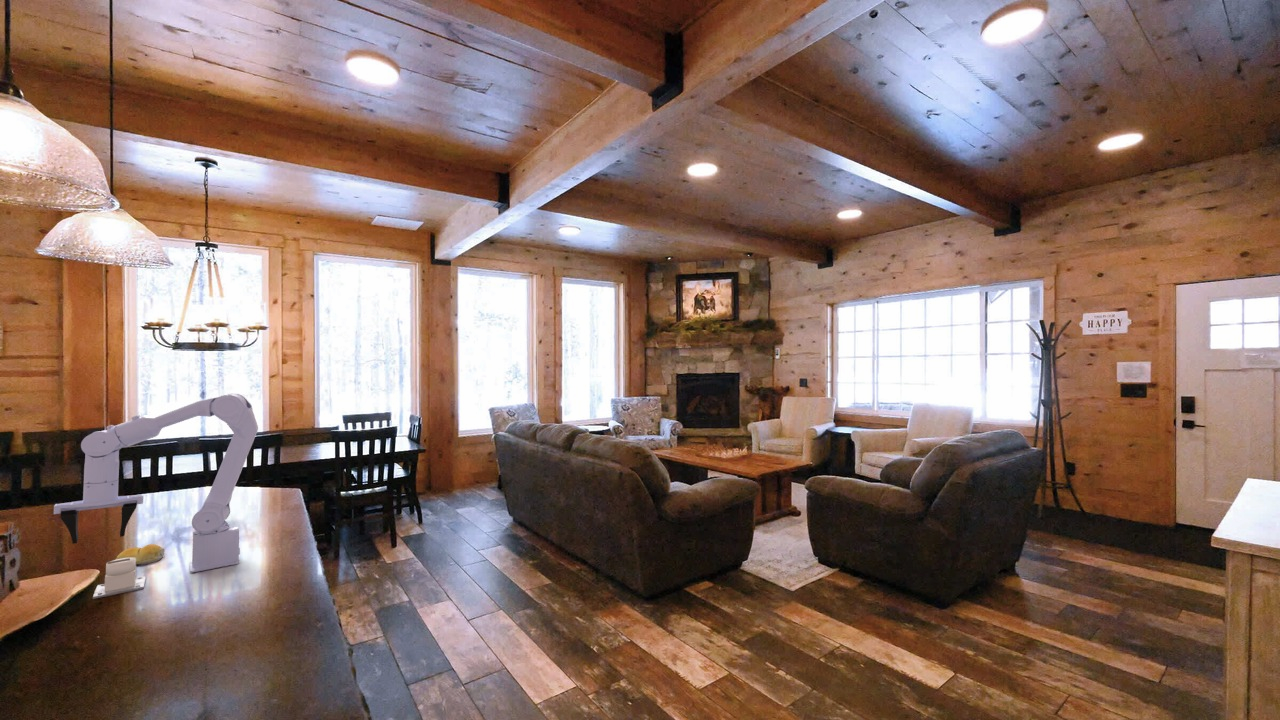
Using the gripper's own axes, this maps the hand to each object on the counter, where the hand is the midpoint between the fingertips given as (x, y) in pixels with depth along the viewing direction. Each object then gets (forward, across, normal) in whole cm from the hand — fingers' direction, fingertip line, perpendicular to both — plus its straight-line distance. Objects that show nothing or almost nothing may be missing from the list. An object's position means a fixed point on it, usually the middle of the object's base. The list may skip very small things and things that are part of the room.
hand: (99, 538), depth 121 cm
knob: (+10, -4, +8) cm, 13 cm away
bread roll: (+10, -7, -12) cm, 17 cm away
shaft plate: (+10, -4, +9) cm, 14 cm away
